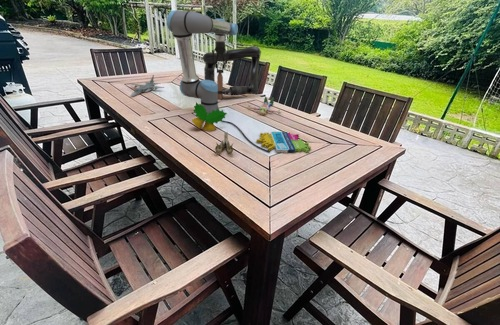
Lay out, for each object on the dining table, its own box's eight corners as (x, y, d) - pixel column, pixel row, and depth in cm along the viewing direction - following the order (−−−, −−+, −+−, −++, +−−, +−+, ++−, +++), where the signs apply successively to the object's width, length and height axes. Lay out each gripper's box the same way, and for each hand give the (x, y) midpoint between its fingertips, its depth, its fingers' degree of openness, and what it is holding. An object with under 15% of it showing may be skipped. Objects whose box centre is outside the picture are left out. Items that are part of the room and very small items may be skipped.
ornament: (218, 133, 171) (224, 110, 169) (221, 134, 163) (227, 111, 161) (186, 125, 162) (192, 101, 160) (189, 126, 155) (195, 101, 153)
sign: (313, 150, 142) (258, 149, 139) (312, 153, 143) (258, 152, 140) (301, 132, 164) (254, 130, 161) (301, 134, 165) (254, 133, 162)
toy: (286, 98, 212) (281, 108, 186) (285, 107, 216) (280, 118, 190) (253, 94, 217) (244, 103, 191) (252, 103, 221) (243, 112, 195)
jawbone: (234, 135, 144) (233, 125, 135) (233, 160, 138) (232, 151, 129) (217, 135, 144) (216, 125, 135) (216, 160, 138) (214, 150, 129)
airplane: (124, 86, 238) (122, 75, 233) (160, 84, 251) (158, 74, 246) (129, 99, 209) (126, 86, 204) (168, 96, 223) (167, 84, 217)
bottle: (220, 99, 222) (220, 71, 210) (216, 98, 224) (216, 70, 213) (223, 98, 225) (224, 70, 214) (219, 97, 227) (219, 70, 216)
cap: (217, 72, 212) (217, 70, 211) (217, 72, 215) (217, 69, 214) (222, 73, 213) (222, 70, 211) (222, 72, 216) (222, 69, 215)
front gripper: (209, 41, 198) (209, 73, 209) (231, 42, 200) (230, 74, 212) (209, 40, 205) (209, 71, 216) (230, 41, 207) (230, 72, 218)
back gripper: (232, 84, 231) (214, 85, 224) (238, 88, 220) (219, 89, 213) (232, 93, 234) (214, 94, 228) (238, 97, 223) (219, 98, 217)
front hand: (220, 72), depth 214 cm, fingers closed on cap, 4 cm apart
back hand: (216, 91), depth 220 cm, fingers closed on bottle, 4 cm apart
